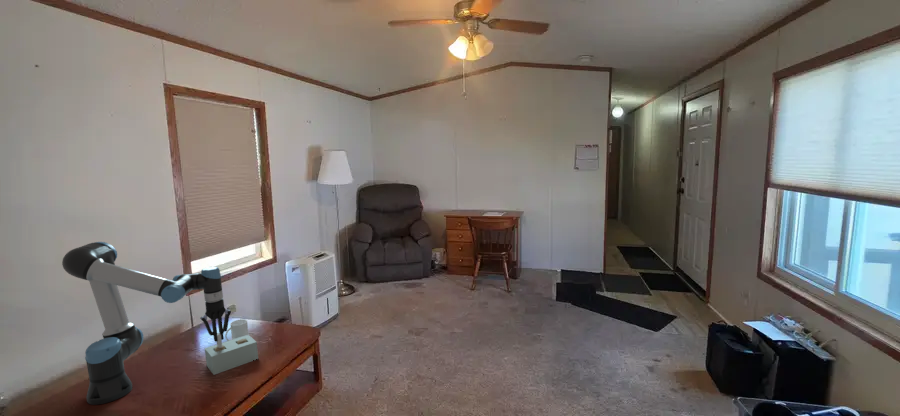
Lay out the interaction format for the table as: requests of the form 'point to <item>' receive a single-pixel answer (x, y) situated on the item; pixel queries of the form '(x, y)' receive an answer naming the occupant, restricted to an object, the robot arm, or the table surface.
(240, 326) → the mug
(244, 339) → the peg far
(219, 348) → the peg near
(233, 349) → the socket block
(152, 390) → the table surface
